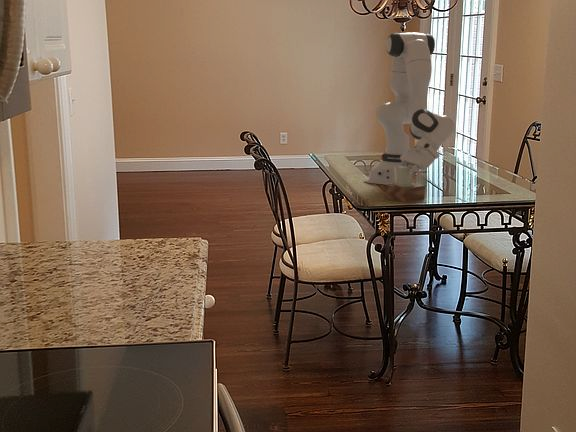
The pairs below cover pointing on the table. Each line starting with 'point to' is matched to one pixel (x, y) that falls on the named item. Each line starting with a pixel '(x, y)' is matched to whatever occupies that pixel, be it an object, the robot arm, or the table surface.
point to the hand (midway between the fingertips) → (403, 172)
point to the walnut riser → (405, 192)
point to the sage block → (403, 177)
